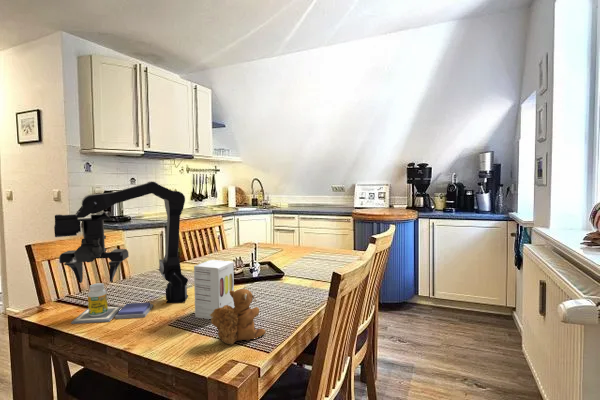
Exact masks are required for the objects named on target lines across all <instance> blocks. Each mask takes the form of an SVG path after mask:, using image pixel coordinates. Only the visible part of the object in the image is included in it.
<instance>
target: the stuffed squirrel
mask: <svg viewBox="0 0 600 400" xmlns="http://www.w3.org/2000/svg"><path fill="white" fill-rule="evenodd" d="M229 293H230V295H231V297H232V298H233V301H234V308H232V307H231V306H228V305H224V306H223V307H222V308H217V309H215V310H214V312H212V314H211V315H210V316H211V317H213V318H211V320H210V322H211V325H212V326H214V327H216V328H217V331H218V332H217V336H218V338H219V340H221V341H222V342H223V343H225V344H226V345H227V344H228V345H234V344H235V343H234V342H237V341H242V340H246V341H251V340H250V339H254V338H257V337H260V336H262V335H264V334H265V335H266V333H267V332H266V330H265V329H264V328H257V329H256V326H255V320H254V319H255V318H256V317H257V316H258V315H259V314H260V308H259V307H257V306H256V307H253V308H251V307H250V306H251V304H252V302H253V301H254V303H256V302H257V298H256V297H255V296H254V295H253V293H252V292H251V291H250V290H249V289H246V288H240V289H237V290H235V291H232V290H231V291H230V292H229ZM265 335H264V336H265ZM262 337H263V336H262ZM260 338H261V337H260ZM257 339H258V338H257Z"/></svg>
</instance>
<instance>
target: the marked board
mask: <svg viewBox="0 0 600 400" xmlns="http://www.w3.org/2000/svg"><path fill="white" fill-rule="evenodd" d="M121 308H123V306H108V312H107V313H106V314H104V315H102V316H97V317H91V316H90V315H89V307H88V308H86V309H85V310H84V311H83V312H82V313H80V314H79V315H78V316H77V317H75V318H74V319H73V320H72V321H71V323H70V324H72V325H73V324H74V325H75V324H89V323H91V324H92V323H108V322H111V321H112V319H114V318H115V316H116V315H117V313H118V312H119V310H120V309H121Z"/></svg>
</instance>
